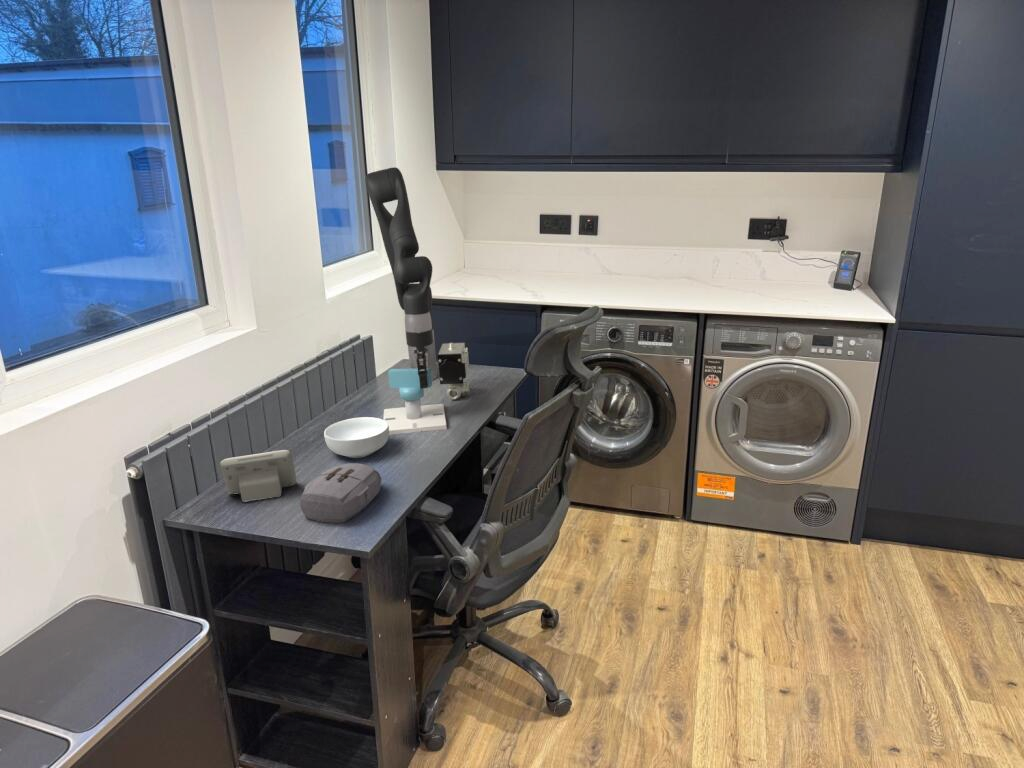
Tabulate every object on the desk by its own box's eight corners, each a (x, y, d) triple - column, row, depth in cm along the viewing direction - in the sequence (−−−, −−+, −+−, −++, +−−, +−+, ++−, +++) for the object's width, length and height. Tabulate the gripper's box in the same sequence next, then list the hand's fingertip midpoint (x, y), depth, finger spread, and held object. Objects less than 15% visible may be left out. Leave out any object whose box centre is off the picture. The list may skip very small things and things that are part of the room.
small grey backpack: (351, 528, 153) (395, 486, 171) (347, 494, 151) (391, 455, 168) (292, 520, 158) (340, 480, 176) (286, 486, 155) (336, 449, 173)
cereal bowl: (401, 441, 197) (398, 417, 194) (374, 467, 182) (371, 442, 179) (345, 437, 201) (342, 414, 199) (315, 462, 186) (311, 437, 184)
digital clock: (300, 482, 175) (294, 442, 172) (292, 499, 167) (285, 458, 164) (233, 487, 175) (225, 447, 171) (222, 505, 166) (213, 463, 163)
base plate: (384, 412, 218) (381, 389, 216) (443, 407, 220) (441, 384, 218) (382, 435, 201) (380, 410, 199) (446, 429, 204) (444, 404, 201)
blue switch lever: (389, 400, 206) (386, 373, 203) (394, 392, 212) (392, 365, 210) (429, 399, 205) (427, 372, 202) (434, 391, 211) (432, 364, 208)
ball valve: (468, 405, 221) (464, 350, 215) (440, 406, 221) (436, 351, 215) (472, 386, 238) (468, 335, 232) (447, 387, 238) (443, 336, 232)
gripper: (405, 323, 208) (411, 380, 213) (404, 334, 195) (410, 394, 200) (431, 321, 209) (436, 377, 214) (432, 332, 195) (437, 392, 201)
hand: (424, 385), depth 207 cm, fingers closed on blue switch lever, 3 cm apart
